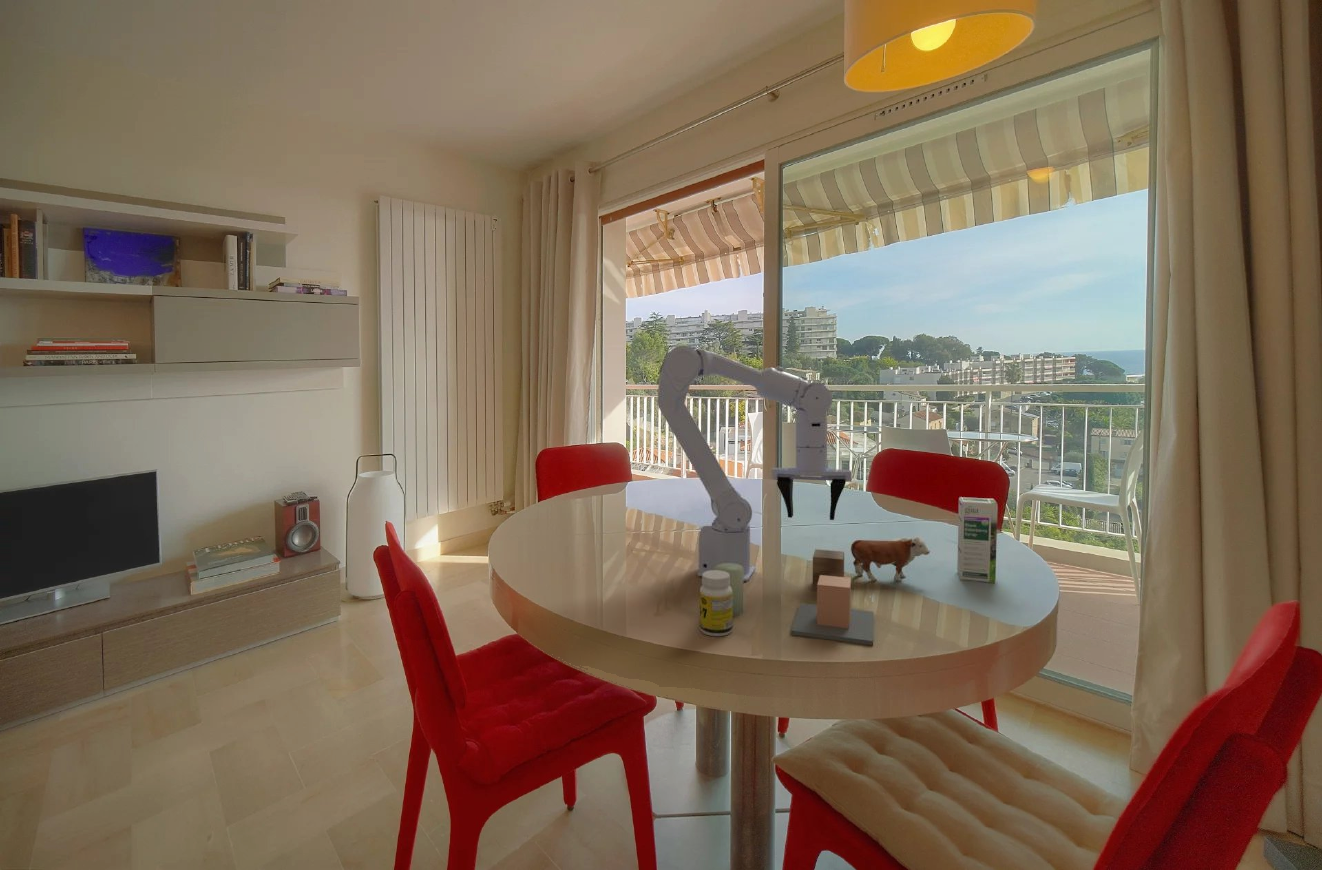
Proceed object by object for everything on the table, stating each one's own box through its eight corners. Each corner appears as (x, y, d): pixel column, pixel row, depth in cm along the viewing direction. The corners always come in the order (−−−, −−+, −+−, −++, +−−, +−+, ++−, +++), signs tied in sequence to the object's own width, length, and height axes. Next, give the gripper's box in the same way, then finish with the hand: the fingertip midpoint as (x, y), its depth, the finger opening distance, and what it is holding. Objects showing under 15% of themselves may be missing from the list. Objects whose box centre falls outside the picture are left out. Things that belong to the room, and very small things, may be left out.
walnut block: (812, 590, 101) (812, 556, 101) (815, 581, 106) (815, 549, 105) (842, 593, 99) (843, 559, 99) (843, 584, 104) (844, 551, 104)
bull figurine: (930, 585, 103) (932, 539, 103) (851, 581, 106) (852, 536, 105) (924, 577, 107) (925, 533, 107) (848, 573, 110) (849, 530, 109)
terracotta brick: (816, 624, 85) (817, 584, 85) (819, 613, 89) (819, 575, 89) (849, 628, 84) (849, 587, 83) (850, 616, 88) (850, 578, 87)
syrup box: (959, 580, 105) (961, 501, 104) (956, 570, 111) (958, 495, 110) (995, 584, 103) (998, 503, 102) (990, 573, 109) (993, 497, 108)
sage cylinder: (711, 613, 91) (711, 570, 91) (719, 603, 95) (719, 562, 95) (739, 617, 90) (739, 573, 89) (745, 607, 94) (746, 564, 93)
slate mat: (791, 634, 83) (791, 630, 83) (800, 607, 94) (800, 603, 94) (873, 645, 79) (873, 641, 79) (873, 615, 90) (873, 611, 90)
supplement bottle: (697, 624, 87) (697, 569, 87) (728, 623, 88) (728, 568, 87) (702, 638, 82) (702, 580, 82) (735, 636, 83) (735, 578, 82)
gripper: (769, 447, 108) (769, 519, 109) (851, 449, 103) (850, 524, 104) (775, 444, 115) (775, 512, 116) (852, 445, 110) (851, 516, 111)
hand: (811, 517), depth 111 cm, fingers open, 7 cm apart
